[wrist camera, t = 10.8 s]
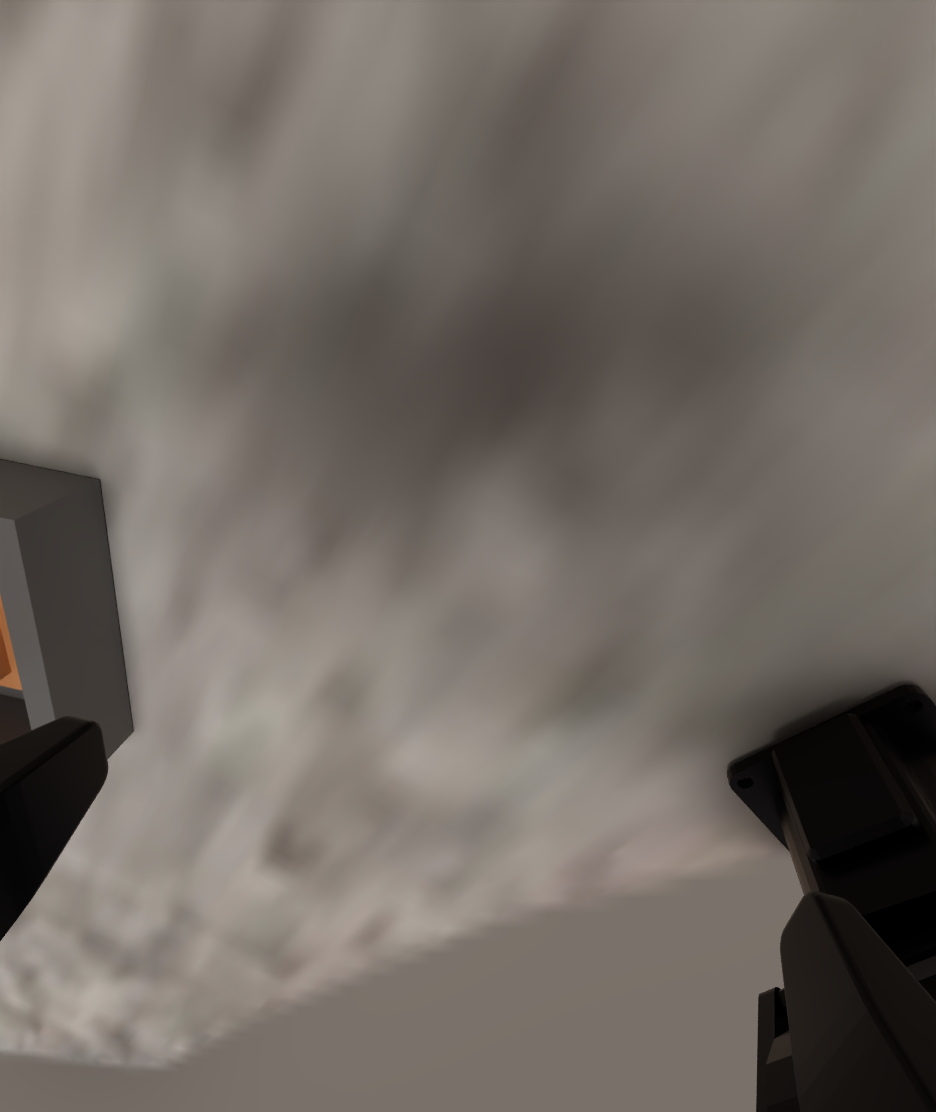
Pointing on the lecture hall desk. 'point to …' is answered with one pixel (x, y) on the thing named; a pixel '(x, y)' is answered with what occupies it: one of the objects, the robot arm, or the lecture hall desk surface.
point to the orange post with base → (7, 656)
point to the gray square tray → (59, 604)
